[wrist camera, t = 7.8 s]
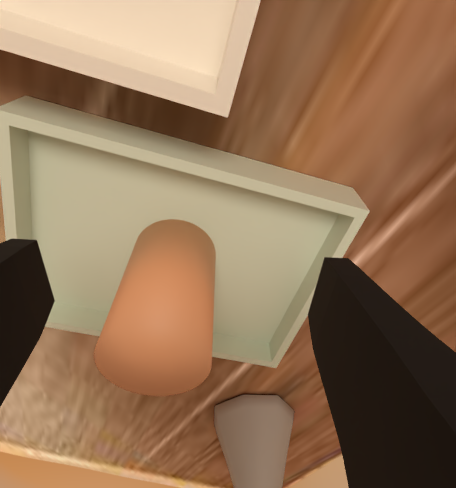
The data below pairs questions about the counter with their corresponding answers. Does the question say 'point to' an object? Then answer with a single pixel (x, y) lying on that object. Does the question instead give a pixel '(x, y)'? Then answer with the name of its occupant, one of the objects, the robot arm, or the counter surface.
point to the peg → (162, 313)
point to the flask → (254, 439)
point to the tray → (163, 208)
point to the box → (139, 43)
